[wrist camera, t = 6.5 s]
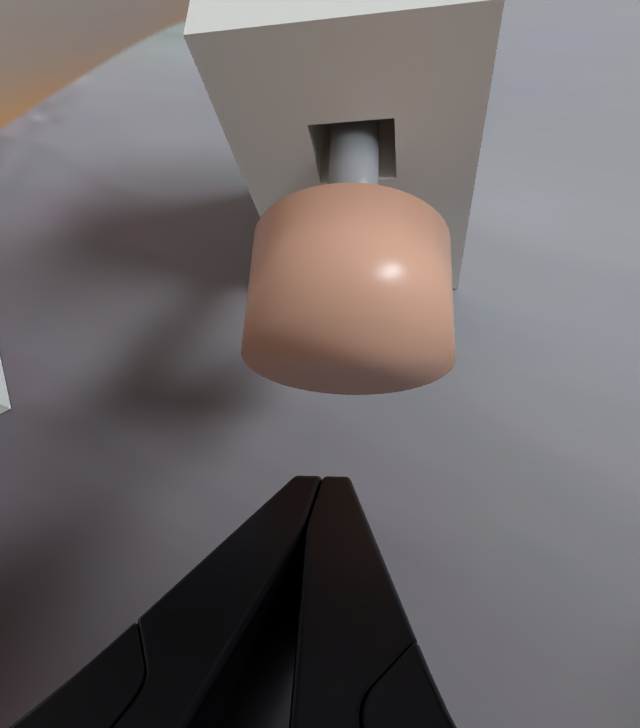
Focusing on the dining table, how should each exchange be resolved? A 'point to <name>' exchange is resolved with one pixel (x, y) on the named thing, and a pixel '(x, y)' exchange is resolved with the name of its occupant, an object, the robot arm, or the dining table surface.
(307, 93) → the white tall block
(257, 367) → the terracotta button
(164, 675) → the robot arm
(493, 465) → the dining table surface
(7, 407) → the sage button housing
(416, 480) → the dining table surface
